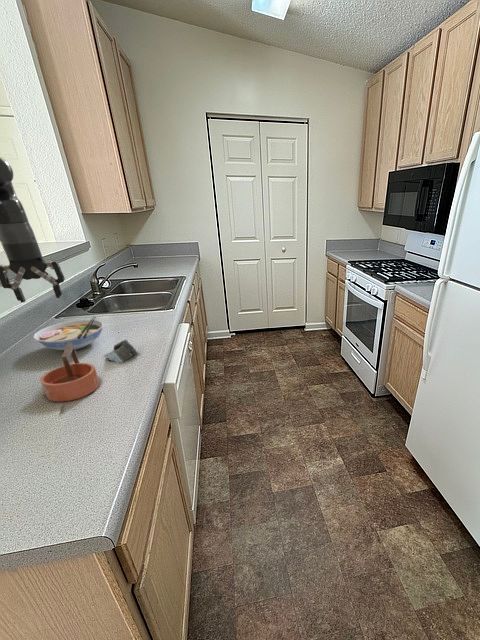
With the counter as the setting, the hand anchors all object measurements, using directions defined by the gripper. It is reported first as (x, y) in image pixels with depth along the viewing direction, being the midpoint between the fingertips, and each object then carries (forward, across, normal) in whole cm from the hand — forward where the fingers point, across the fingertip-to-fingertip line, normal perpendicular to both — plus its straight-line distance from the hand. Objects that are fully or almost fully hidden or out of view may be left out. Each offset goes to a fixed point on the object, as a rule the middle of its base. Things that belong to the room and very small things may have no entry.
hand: (41, 299), depth 96 cm
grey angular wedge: (+26, -14, -8) cm, 31 cm away
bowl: (+26, -2, +10) cm, 28 cm away
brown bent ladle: (+26, -2, +3) cm, 26 cm away
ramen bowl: (+26, +1, -28) cm, 38 cm away
